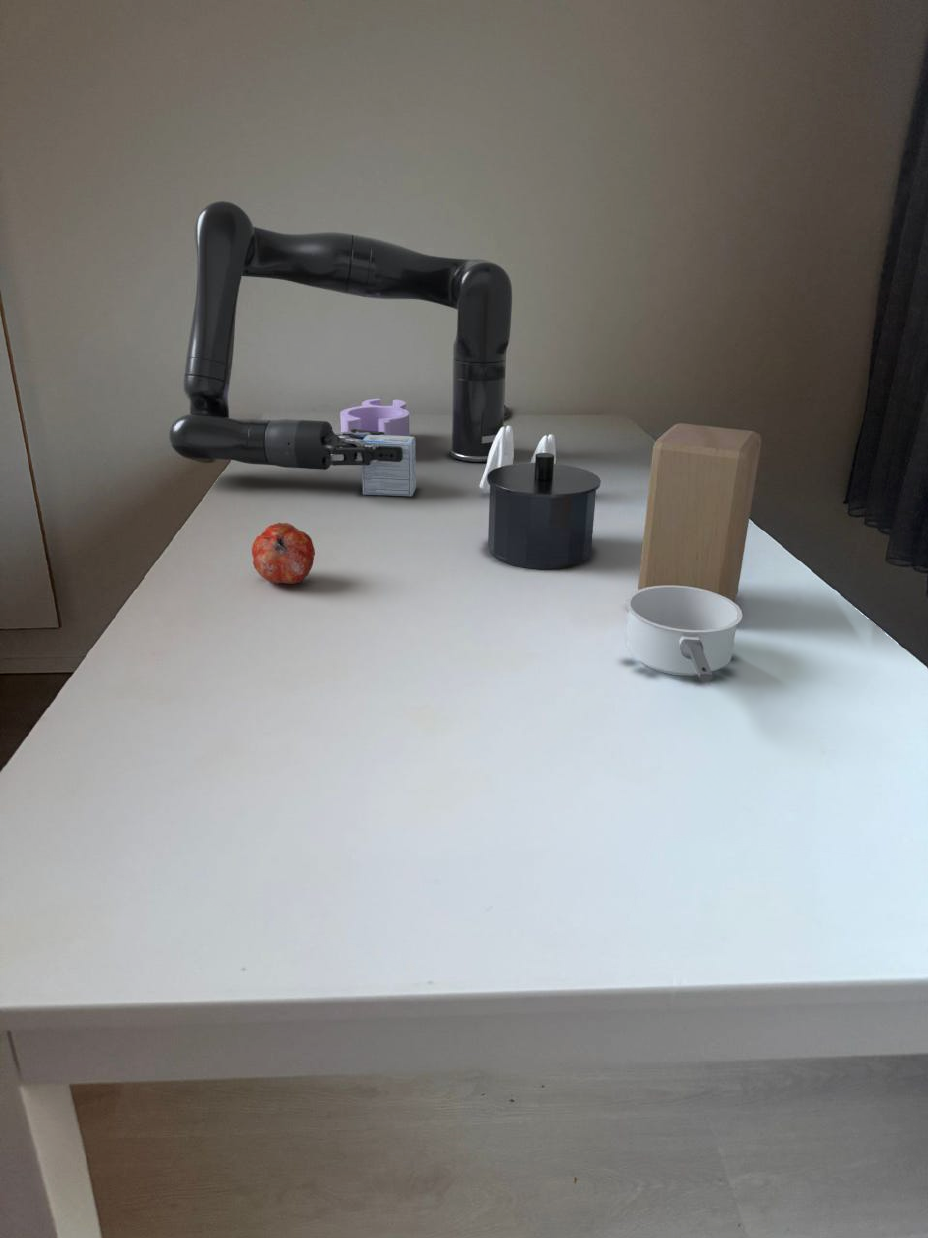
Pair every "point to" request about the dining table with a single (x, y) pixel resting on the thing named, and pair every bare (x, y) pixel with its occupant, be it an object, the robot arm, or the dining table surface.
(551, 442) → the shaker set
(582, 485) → the pot lid
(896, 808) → the dining table surface
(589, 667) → the dining table surface
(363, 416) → the clip
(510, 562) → the pot
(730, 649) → the saucepan
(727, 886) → the dining table surface
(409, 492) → the medicine box
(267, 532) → the pomegranate
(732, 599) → the wooden block
